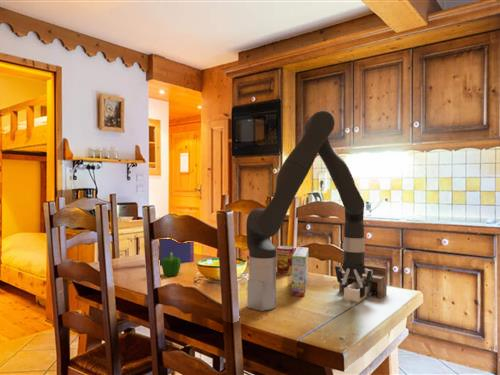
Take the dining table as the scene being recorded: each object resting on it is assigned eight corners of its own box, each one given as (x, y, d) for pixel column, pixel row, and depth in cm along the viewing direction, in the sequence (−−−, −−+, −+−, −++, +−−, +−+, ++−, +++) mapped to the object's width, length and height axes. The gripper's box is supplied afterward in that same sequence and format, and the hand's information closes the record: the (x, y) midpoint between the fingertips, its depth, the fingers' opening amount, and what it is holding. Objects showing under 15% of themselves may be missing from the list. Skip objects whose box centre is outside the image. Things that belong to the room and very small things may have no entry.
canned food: (273, 272, 178) (273, 247, 178) (283, 270, 184) (283, 245, 184) (287, 275, 173) (287, 249, 173) (297, 272, 179) (297, 247, 179)
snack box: (305, 297, 142) (306, 256, 141) (290, 296, 143) (290, 255, 143) (308, 282, 162) (308, 246, 162) (295, 281, 164) (295, 246, 163)
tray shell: (358, 301, 136) (358, 290, 136) (343, 299, 139) (344, 288, 139) (371, 292, 147) (371, 282, 147) (357, 290, 151) (357, 280, 151)
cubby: (380, 298, 140) (381, 271, 140) (339, 290, 149) (339, 265, 149) (386, 293, 146) (386, 267, 146) (346, 286, 155) (346, 262, 155)
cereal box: (190, 260, 206) (190, 215, 206) (193, 261, 202) (193, 216, 202) (158, 263, 197) (158, 217, 197) (161, 265, 193) (161, 217, 193)
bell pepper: (176, 278, 168) (176, 255, 168) (159, 277, 170) (159, 254, 169) (183, 273, 176) (183, 251, 176) (166, 272, 178) (166, 251, 178)
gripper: (376, 250, 138) (376, 296, 138) (339, 246, 146) (338, 290, 147) (370, 253, 132) (369, 302, 132) (331, 248, 140) (330, 294, 141)
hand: (353, 295), depth 140 cm, fingers closed on tray shell, 5 cm apart
